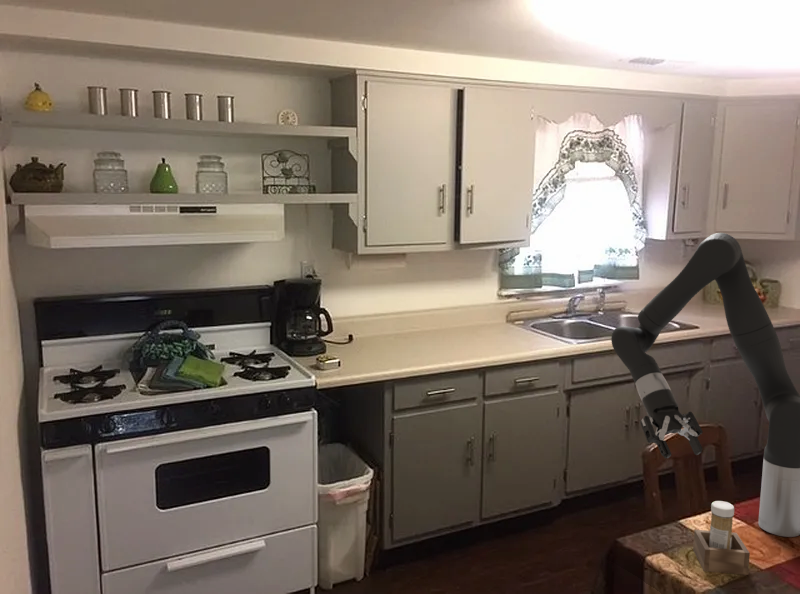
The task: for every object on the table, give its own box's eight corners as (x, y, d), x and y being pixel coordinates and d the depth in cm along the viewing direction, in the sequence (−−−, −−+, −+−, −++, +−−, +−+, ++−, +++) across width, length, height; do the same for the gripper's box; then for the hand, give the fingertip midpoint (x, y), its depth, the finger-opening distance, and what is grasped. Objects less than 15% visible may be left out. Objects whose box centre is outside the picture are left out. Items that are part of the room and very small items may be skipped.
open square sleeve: (734, 553, 154) (736, 532, 153) (748, 574, 145) (749, 553, 145) (693, 549, 156) (694, 529, 155) (703, 570, 147) (705, 549, 146)
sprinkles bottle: (734, 563, 150) (738, 505, 148) (722, 569, 148) (727, 511, 146) (714, 554, 154) (718, 498, 152) (703, 560, 151) (707, 503, 149)
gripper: (638, 389, 165) (666, 451, 156) (687, 385, 169) (717, 445, 160) (624, 404, 171) (650, 464, 162) (672, 400, 175) (700, 458, 165)
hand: (683, 455), depth 161 cm, fingers open, 8 cm apart
